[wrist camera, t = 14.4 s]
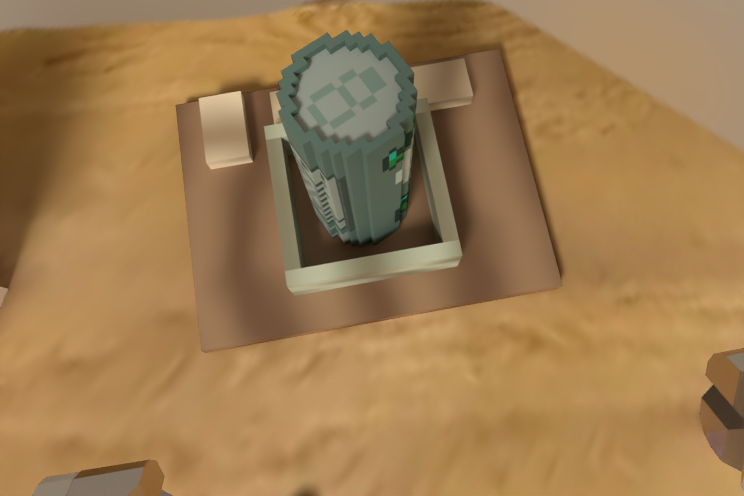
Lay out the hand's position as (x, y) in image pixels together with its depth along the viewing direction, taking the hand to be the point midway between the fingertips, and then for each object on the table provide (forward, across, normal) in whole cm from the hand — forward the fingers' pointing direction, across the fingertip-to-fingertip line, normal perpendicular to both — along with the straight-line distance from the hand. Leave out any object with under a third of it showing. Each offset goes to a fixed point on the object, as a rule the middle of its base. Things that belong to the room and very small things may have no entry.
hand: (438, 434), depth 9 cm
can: (+32, 0, +11) cm, 34 cm away
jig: (+32, 0, +12) cm, 34 cm away
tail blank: (+36, +8, +6) cm, 38 cm away
